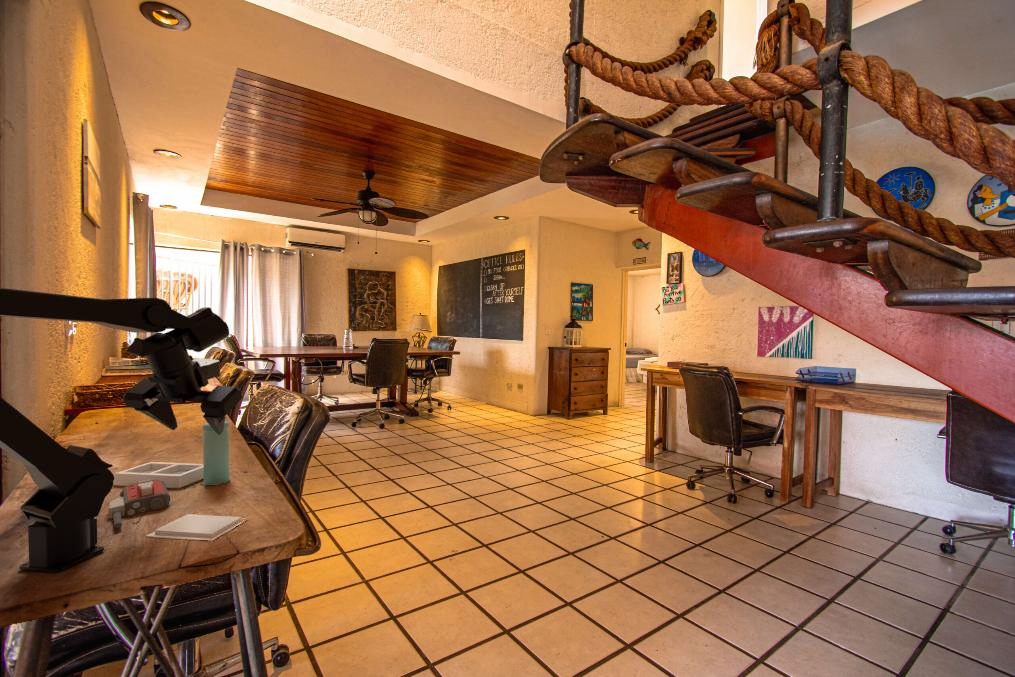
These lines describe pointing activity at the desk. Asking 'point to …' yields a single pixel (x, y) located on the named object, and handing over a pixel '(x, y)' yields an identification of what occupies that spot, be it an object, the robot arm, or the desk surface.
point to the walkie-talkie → (139, 499)
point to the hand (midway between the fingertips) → (197, 430)
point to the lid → (197, 527)
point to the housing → (161, 474)
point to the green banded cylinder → (216, 455)
